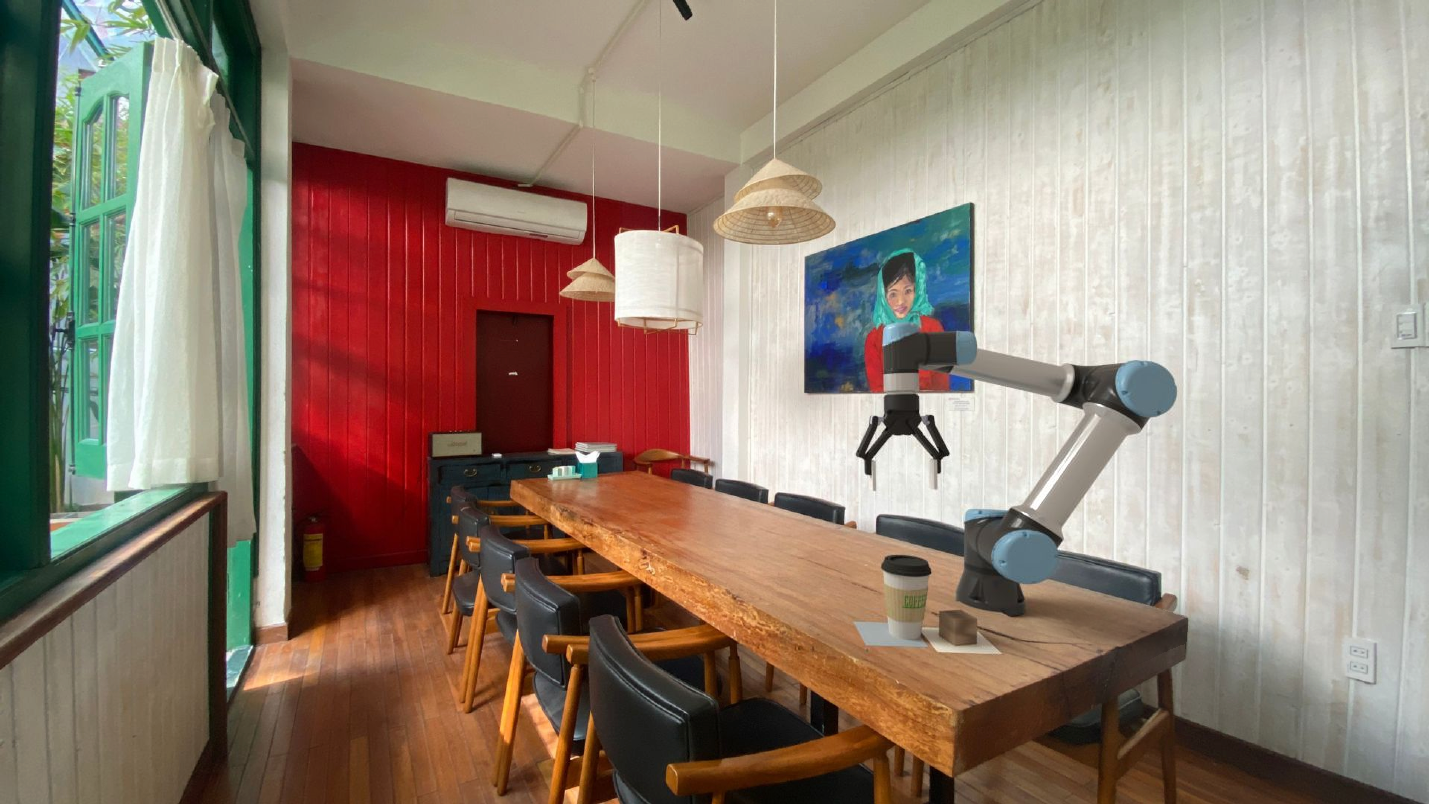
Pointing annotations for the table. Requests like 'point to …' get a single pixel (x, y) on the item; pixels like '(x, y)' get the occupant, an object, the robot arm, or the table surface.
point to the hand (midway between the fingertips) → (903, 489)
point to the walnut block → (958, 627)
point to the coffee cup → (905, 594)
